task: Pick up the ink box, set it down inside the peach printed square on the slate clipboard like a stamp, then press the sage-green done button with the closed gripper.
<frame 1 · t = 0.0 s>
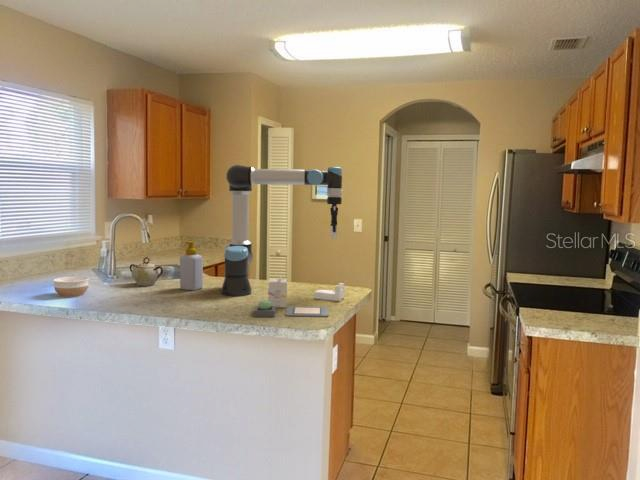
hand: (333, 237, 280), 28 cm above the counter, fingers open, 13 cm apart
sugar bowl: (146, 284, 289), on the counter
bowl: (71, 295, 260), on the counter
soap bottle: (191, 289, 279), on the counter
ink box: (277, 305, 244), on the counter
done button: (264, 305, 226), point 4 cm above the counter, slide at 0.0 cm
bracket: (329, 299, 261), on the counter
button housing: (264, 314, 227), on the counter
clipboard: (307, 312, 232), on the counter
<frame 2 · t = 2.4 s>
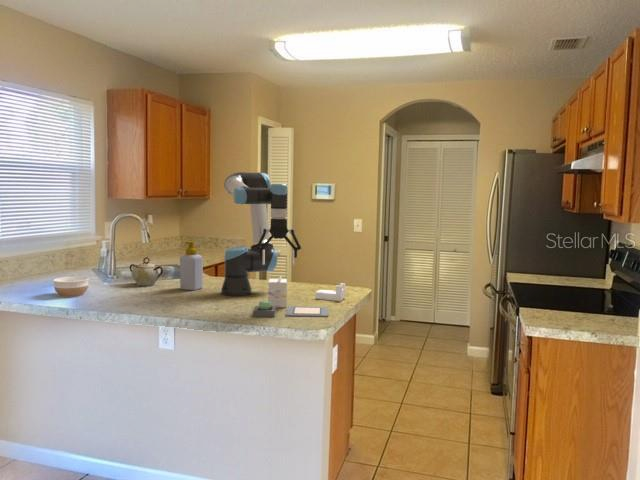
hand: (278, 264, 242), 19 cm above the counter, fingers open, 13 cm apart
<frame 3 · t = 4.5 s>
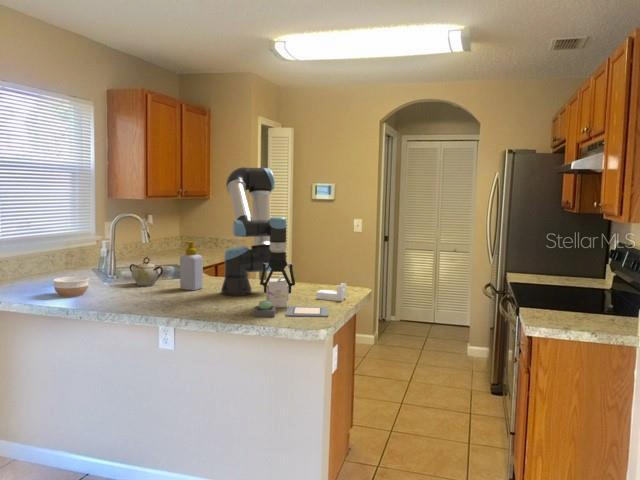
hand: (277, 300, 243), 2 cm above the counter, fingers closed on ink box, 9 cm apart
ink box: (277, 305, 244), on the counter, touching gripper
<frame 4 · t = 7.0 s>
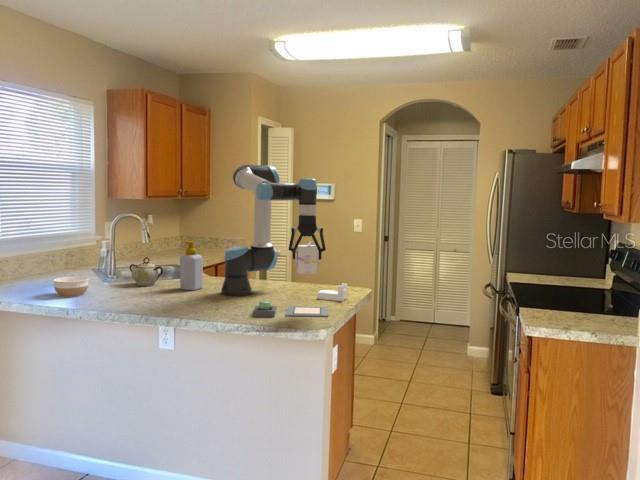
hand: (307, 266, 230), 20 cm above the counter, fingers closed on ink box, 9 cm apart
ink box: (307, 272, 230), point 17 cm above the counter, touching gripper
when the fingers open (4 cm above the counter, at t = 9.8 s): ink box drops 1 cm, resting on clipboard.
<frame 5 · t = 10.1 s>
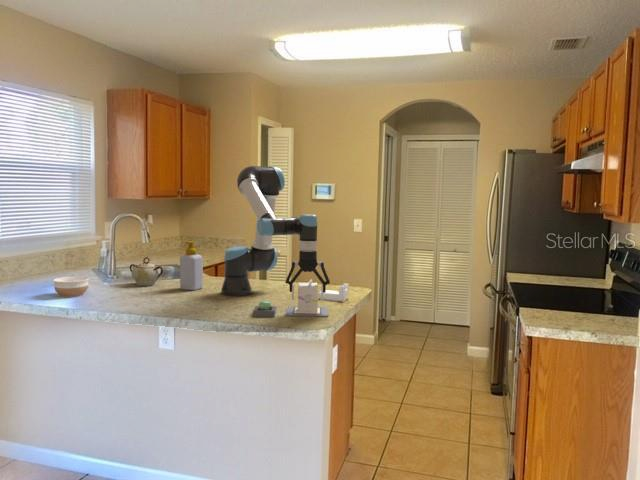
hand: (307, 299, 231), 5 cm above the counter, fingers open, 12 cm apart
ink box: (307, 310, 232), resting on clipboard
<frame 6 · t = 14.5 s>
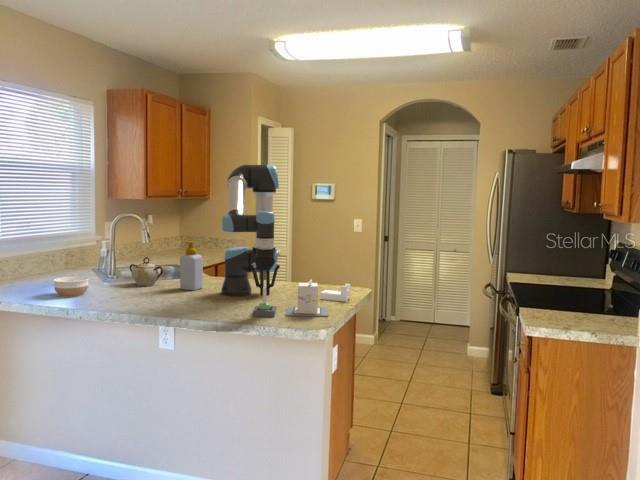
hand: (264, 303, 226), 5 cm above the counter, fingers closed
done button: (264, 307, 226), point 3 cm above the counter, slide at 0.7 cm, touching gripper
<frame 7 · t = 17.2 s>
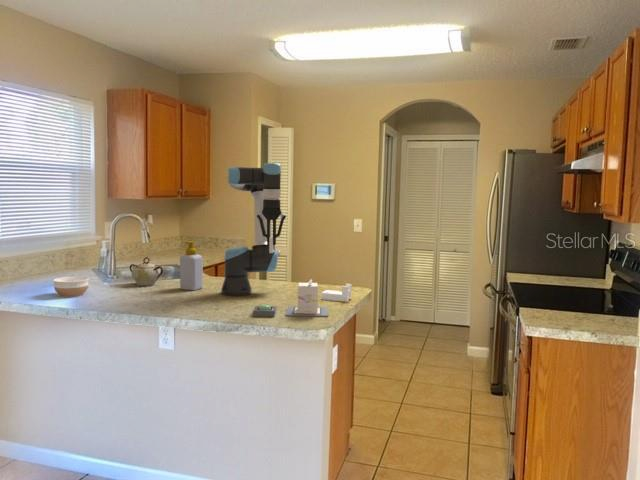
hand: (271, 252, 234), 25 cm above the counter, fingers closed
done button: (264, 309, 226), point 2 cm above the counter, slide at 1.6 cm
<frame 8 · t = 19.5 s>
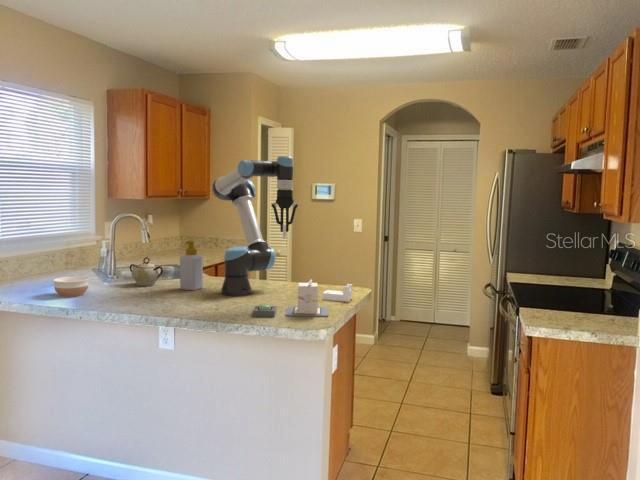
hand: (284, 238, 254), 29 cm above the counter, fingers closed
at the end: ink box inside the target area on the clipboard (0.1 cm from its centre), point 0.5 cm above the clipboard's base; ink box tilted 0°; done button slide at 1.6 cm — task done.
